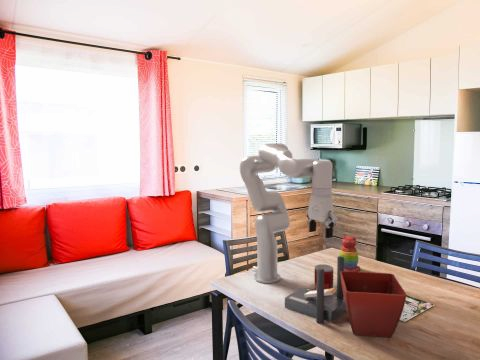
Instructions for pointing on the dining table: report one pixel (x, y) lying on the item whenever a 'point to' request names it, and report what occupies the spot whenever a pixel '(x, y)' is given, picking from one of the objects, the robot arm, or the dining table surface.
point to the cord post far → (339, 276)
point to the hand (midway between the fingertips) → (320, 234)
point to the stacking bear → (349, 254)
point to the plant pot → (372, 302)
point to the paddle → (326, 292)
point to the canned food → (325, 276)
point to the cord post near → (320, 296)
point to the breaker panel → (315, 304)
